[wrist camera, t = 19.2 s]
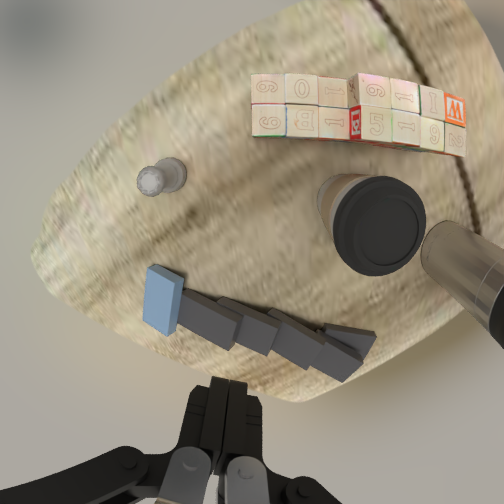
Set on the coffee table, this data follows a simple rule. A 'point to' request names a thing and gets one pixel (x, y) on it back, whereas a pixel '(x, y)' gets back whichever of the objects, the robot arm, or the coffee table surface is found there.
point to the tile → (162, 299)
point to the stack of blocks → (358, 112)
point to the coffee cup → (372, 221)
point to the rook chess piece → (161, 177)
